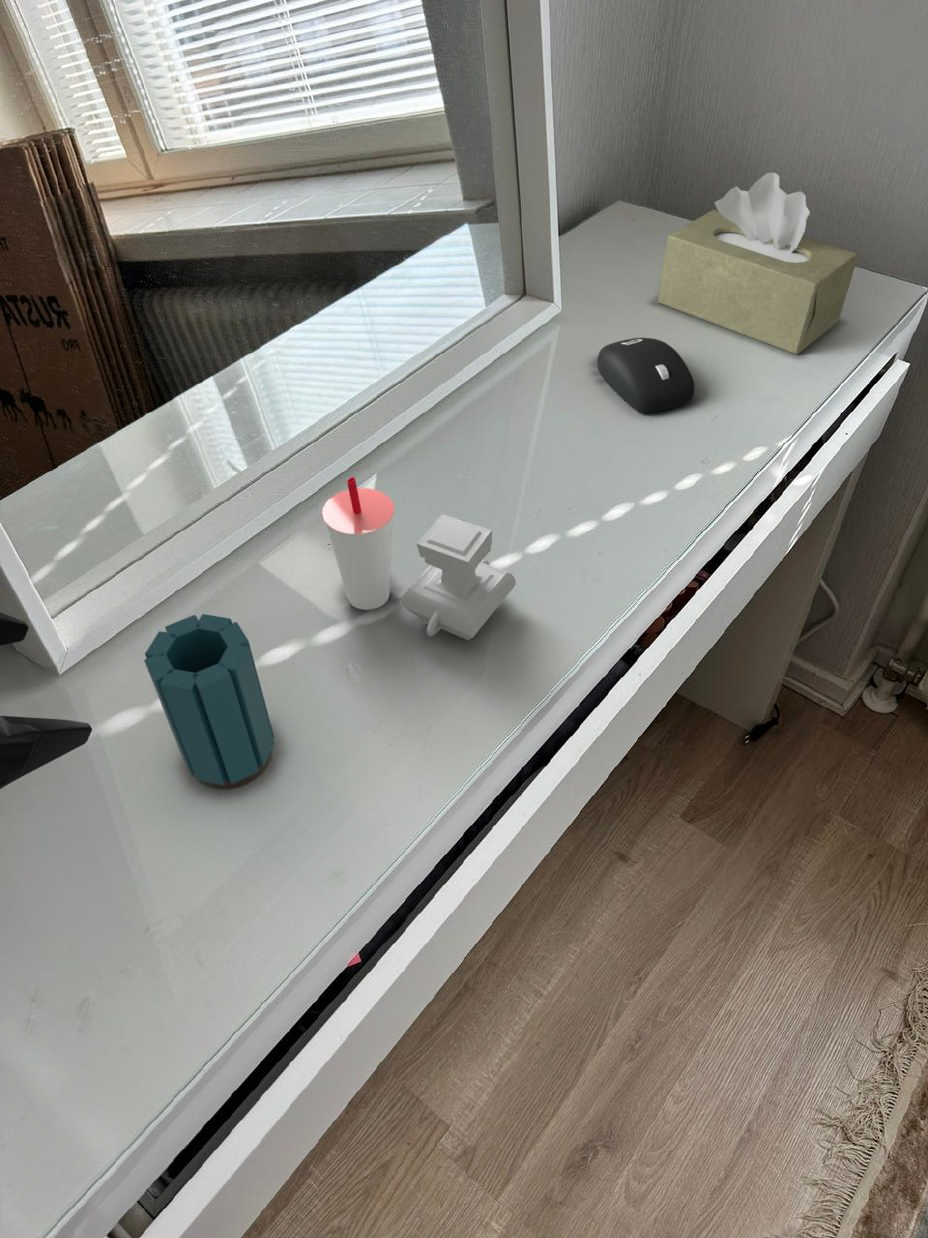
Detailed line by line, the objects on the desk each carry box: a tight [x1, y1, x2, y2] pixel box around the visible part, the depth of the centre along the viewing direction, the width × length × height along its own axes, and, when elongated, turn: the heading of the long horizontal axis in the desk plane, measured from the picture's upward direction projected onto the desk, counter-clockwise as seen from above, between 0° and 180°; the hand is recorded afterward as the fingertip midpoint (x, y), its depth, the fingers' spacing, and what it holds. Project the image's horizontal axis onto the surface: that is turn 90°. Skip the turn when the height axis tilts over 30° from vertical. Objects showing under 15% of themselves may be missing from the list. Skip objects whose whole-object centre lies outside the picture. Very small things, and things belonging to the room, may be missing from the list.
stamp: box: [399, 513, 517, 641], centre depth 70 cm, size 9×7×8 cm
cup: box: [321, 476, 395, 611], centre depth 70 cm, size 5×5×12 cm
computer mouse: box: [596, 337, 695, 414], centre depth 95 cm, size 8×12×4 cm, turn 24°
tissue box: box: [657, 172, 859, 355], centre depth 101 cm, size 19×10×16 cm, turn 48°
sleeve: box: [144, 613, 275, 785], centre depth 60 cm, size 6×6×10 cm
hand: (55, 680), depth 50 cm, fingers open, 9 cm apart
